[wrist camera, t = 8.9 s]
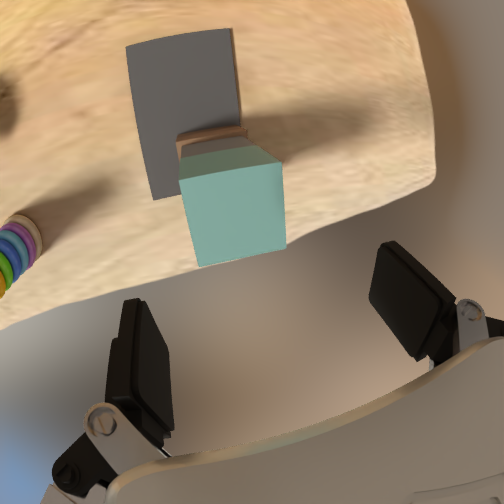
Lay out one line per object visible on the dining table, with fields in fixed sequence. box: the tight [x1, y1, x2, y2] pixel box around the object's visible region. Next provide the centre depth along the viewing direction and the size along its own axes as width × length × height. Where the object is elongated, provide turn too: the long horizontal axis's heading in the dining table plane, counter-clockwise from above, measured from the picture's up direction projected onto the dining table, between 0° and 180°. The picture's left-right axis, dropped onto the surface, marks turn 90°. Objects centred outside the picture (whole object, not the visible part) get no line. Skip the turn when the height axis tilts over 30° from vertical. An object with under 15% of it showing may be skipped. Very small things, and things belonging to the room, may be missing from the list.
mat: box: [126, 28, 241, 200], centre depth 28 cm, size 20×12×1 cm, turn 6°
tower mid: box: [181, 136, 256, 158], centre depth 24 cm, size 6×6×6 cm
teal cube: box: [179, 145, 286, 267], centre depth 19 cm, size 6×6×6 cm
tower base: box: [176, 125, 248, 163], centre depth 29 cm, size 7×7×6 cm
